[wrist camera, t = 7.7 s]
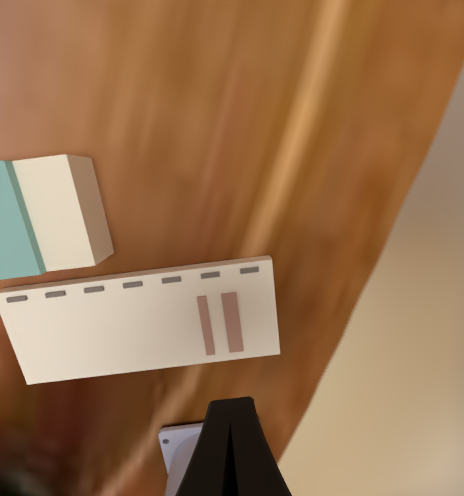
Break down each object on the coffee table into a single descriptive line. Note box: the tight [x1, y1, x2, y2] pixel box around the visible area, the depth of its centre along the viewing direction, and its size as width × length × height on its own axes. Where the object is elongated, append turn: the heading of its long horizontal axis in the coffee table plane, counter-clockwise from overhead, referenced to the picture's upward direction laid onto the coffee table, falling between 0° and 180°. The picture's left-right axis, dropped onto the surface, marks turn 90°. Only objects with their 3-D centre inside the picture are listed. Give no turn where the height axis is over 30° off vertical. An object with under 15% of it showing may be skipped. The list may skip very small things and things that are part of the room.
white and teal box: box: [0, 154, 114, 280], centre depth 16 cm, size 6×8×4 cm
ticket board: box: [0, 255, 280, 385], centre depth 19 cm, size 7×18×1 cm, turn 97°
